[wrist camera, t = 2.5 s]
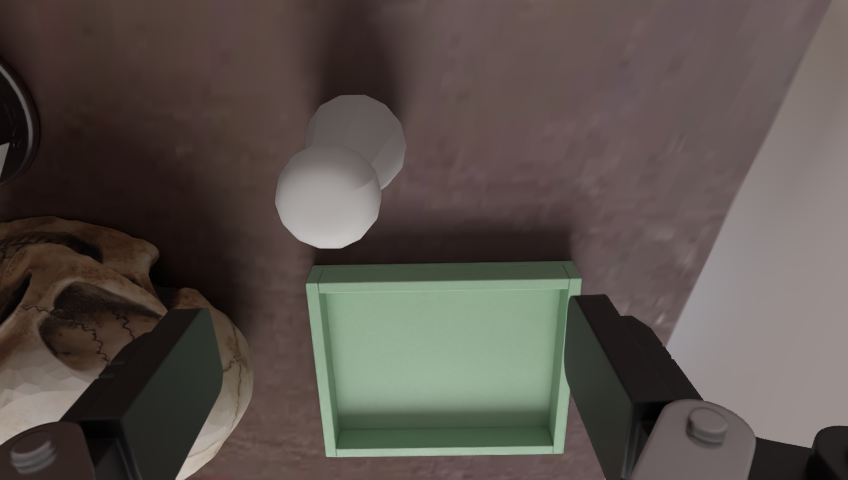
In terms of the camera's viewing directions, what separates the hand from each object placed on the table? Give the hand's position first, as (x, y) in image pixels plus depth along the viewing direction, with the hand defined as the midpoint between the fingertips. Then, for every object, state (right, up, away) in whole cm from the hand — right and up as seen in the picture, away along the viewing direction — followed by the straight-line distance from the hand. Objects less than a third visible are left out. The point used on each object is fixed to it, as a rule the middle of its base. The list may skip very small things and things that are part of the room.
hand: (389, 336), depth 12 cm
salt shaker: (-3, +9, +21) cm, 23 cm away
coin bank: (-20, -3, +26) cm, 33 cm away
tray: (+2, -6, +27) cm, 28 cm away
